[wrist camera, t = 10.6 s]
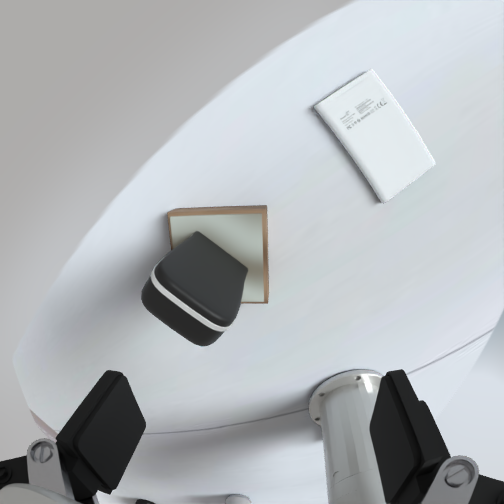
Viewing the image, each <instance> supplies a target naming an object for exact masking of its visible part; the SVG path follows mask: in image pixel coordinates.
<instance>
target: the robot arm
mask: <svg viewBox="0 0 504 504" xmlns="http://www.w3.org/2000/svg"><path fill="white" fill-rule="evenodd" d="M309 414H310V416H311V418H312V420H313V421H314V422H315V423H316V424H318V425H319V426H321V427H322V437H323V447H324V457H325V468H326V480H327V493H328V503H329V504H504V482H503V481H499V480H496V479H492V478H489V477H486V476H483V475H480V474H479V470H478V466H477V464H476V462H475V461H473V460H472V459H471V458H469V457H467V456H454V457H451V456H450V454H449V452H448V449H447V447H446V445H445V443H444V440H443V438H442V436H441V434H440V432H439V429H438V427H437V425H436V423H435V420H434V418H433V416H432V414H431V412H430V410H429V408H428V406H427V404H426V403H425V402H424V401H419V400H418V398H417V396H416V394H415V392H414V390H413V388H412V386H411V384H410V382H409V380H408V378H407V376H406V374H405V372H404V370H402V369H401V370H395V371H389V372H387V373H386V376H383V375H382V374H380V373H378V372H375V371H372V370H353V371H348V372H344V373H341V374H338V375H336V376H334V377H332V378H330V379H328V380H327V381H325V382H323V383H322V384H321V385H320V386H319V387H318V388H317V389H316V390H315V391H314V392H313V394H312V396H311V398H310V401H309ZM145 428H146V422H145V419H144V417H143V415H142V413H141V411H140V408H139V406H138V404H137V402H136V399H135V397H134V395H133V392H132V390H131V387H130V385H129V382H128V380H127V378H126V377H125V376H124V375H123V373H121V372H118V371H111V370H107V371H106V372H105V373H104V374H103V376H102V377H101V378H100V379H99V381H98V382H97V383H96V385H95V386H94V387H93V389H92V390H91V391H90V392H89V394H88V395H87V396H86V398H85V399H84V400H83V402H82V403H81V404H80V406H79V407H78V408H77V410H76V411H75V412H74V414H73V415H72V416H71V418H70V419H69V420H68V422H67V423H66V424H65V426H64V427H63V429H62V430H61V431H60V433H59V434H58V435H57V437H56V440H57V442H56V443H54V442H53V441H52V440H50V439H45V438H44V439H39V440H36V441H35V442H33V443H32V444H31V445H30V446H29V448H28V450H27V455H26V456H22V457H19V458H14V459H10V460H5V461H1V462H0V504H99V502H98V499H97V496H96V492H97V490H99V491H101V492H104V493H107V494H111V492H112V490H114V489H116V488H117V486H118V484H119V482H120V480H121V478H122V476H123V474H124V472H125V469H126V467H127V465H128V463H129V461H130V459H131V457H132V455H133V453H134V451H135V449H136V447H137V445H138V443H139V441H140V439H141V436H142V434H143V432H144V430H145Z"/></svg>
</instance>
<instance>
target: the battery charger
mask: <svg viewBox="0 0 504 504" xmlns="http://www.w3.org/2000/svg"><path fill="white" fill-rule="evenodd" d="M247 273H248V268H247V267H246V266H244V265H243V264H242V263H240V262H239V261H238V260H237V259H235V258H234V257H233V256H231V255H230V254H229V253H227V252H226V251H225V250H223V249H222V248H221V247H219V246H218V245H217V244H215V243H214V242H213V241H211V240H210V239H209V238H207V237H206V236H205V235H203V234H202V233H200V232H199V231H196V232H195V233H194V234H192V235H191V236H190V237H189V238H188V239H187V240H185V241H184V242H182V243H181V244H179V245H178V246H176V247H175V248H174V249H172V250H171V251H170V252H169V253H168V254H167V255H165V256H164V257H163V258H162V259H161V260H160V261H159V262H158V263H157V264H156V266H155V267H154V269H153V270H152V272H151V276H150V277H149V279H148V281H147V282H146V284H145V286H144V288H143V290H142V296H141V300H142V302H143V305H144V306H145V308H146V309H147V310H148V311H149V312H150V313H152V314H153V315H154V316H155V317H157V318H158V319H159V320H161V321H162V322H163V323H165V324H166V325H167V326H169V327H170V328H171V329H173V330H174V331H176V332H177V333H178V334H180V335H181V336H183V337H184V338H186V339H187V340H189V341H190V342H192V343H194V344H196V345H199V346H208V345H210V344H212V343H214V342H215V341H216V340H217V339H218V338H219V337H220V336H221V335H222V334H223V333H224V331H226V330H228V329H229V328H230V327H231V326H232V324H233V322H234V320H235V318H236V316H237V313H238V311H239V307H240V304H241V300H242V295H243V289H244V283H245V279H246V276H247Z"/></svg>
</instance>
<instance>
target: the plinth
mask: <svg viewBox="0 0 504 504" xmlns="http://www.w3.org/2000/svg"><path fill="white" fill-rule="evenodd" d="M167 214H168V225H169V234H170V244H171V250H172V249H174V248H175V247H176V246H178V245H179V244H181V243H182V242H184V241H185V240H187V239H188V238H189V237H190V236H191V235H192V234H194V233H195V232H196V231H199V232H200V233H202V234H203V235H205V236H206V237H207V238H209V239H210V240H211V241H213V242H214V243H215V244H217V245H218V246H219V247H221V248H222V249H223V250H225V251H226V252H227V253H229V254H230V255H231V256H233V257H234V258H235V259H237V260H238V261H239V262H240V263H242V264H243V265H244V266H246V267H247V268H248V273H247V276H246V279H245V283H244V289H243V295H242V300H241V303H268V297H269V275H268V227H267V205H262V206H224V207H199V208H178V209H174V210H172V211H170V212H168V213H167Z"/></svg>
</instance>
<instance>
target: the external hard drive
mask: <svg viewBox="0 0 504 504" xmlns="http://www.w3.org/2000/svg"><path fill="white" fill-rule="evenodd" d="M314 108H315V110H316V111H317V112H318V113H319V115H320V116H321V117H322V118H323V120H324V121H325V122H326V123H327V125H328V126H329V127H330V129H331V130H332V131H333V133H334V134H335V135H336V137H337V138H338V139H339V141H340V142H341V143H342V145H343V146H344V148H345V149H346V150H347V152H348V153H349V154H350V156H351V157H352V159H353V160H354V162H355V163H356V164H357V166H358V167H359V169H360V170H361V172H362V173H363V175H364V176H365V178H366V179H367V181H368V182H369V184H370V185H371V187H372V188H373V190H374V191H375V193H376V195H377V196H378V198H379V199H380V201H381V202H382V203H386V202H387V201H389V200H390V199H391V198H393V197H394V196H395V195H397V194H398V193H399V192H401V191H402V190H403V189H405V188H406V187H407V186H408V185H410V184H411V183H412V182H414V181H415V180H416V179H418V178H419V177H420V176H421V175H423V174H424V173H425V172H427V171H428V170H429V169H430V168H432V167H433V166H434V165H435V164H436V163H435V161H434V159H433V157H432V156H431V154H430V152H429V150H428V149H427V147H426V145H425V144H424V142H423V140H422V139H421V137H420V135H419V134H418V132H417V131H416V129H415V127H414V126H413V124H412V123H411V121H410V120H409V118H408V117H407V115H406V114H405V112H404V111H403V109H402V108H401V107H400V105H399V104H398V102H397V101H396V100H395V98H394V97H393V95H392V94H391V93H390V91H389V90H388V89H387V87H386V86H385V85H384V83H383V82H382V81H381V80H380V78H379V77H378V76H377V74H376V73H375V72H374V71H373V69H370V70H369V71H367V72H366V73H364V74H362V75H361V76H359V77H358V78H356V79H354V80H353V81H351V82H350V83H348V84H347V85H345V86H344V87H342V88H340V89H339V90H337V91H336V92H334V93H333V94H331V95H330V96H328V97H327V98H325V99H324V100H322V101H321V102H319V103H318V104H317V105H315V106H314Z"/></svg>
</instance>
